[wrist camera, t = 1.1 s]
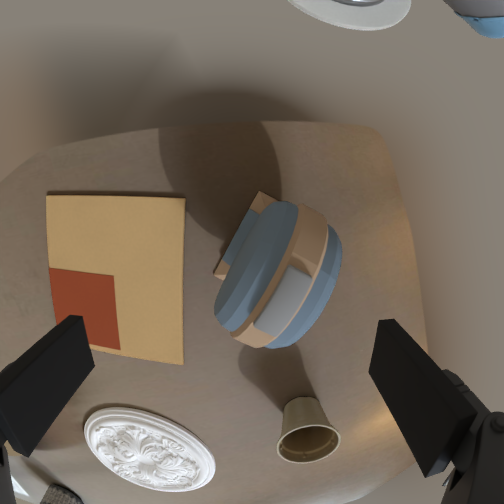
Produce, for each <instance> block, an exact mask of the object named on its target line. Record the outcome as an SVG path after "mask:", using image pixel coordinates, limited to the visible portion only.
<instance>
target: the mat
mask: <svg viewBox="0 0 504 504" xmlns="http://www.w3.org/2000/svg"><path fill="white" fill-rule="evenodd" d="M185 207H186V198H168V197H142V196H103V195H47V196H46V220H47V244H48V258H49V274H50V283H51V291H52V298H53V305H54V311H55V317H56V323H57V325H58V324H59V323H60V322H61V321H63V320H64V319H65V318H66V317H67V316H69V315H79V316H83V320H84V324H85V329H86V333H87V337H88V342H89V346H90V349H94V350H98V351H103V352H108V353H113V354H118V355H123V356H128V357H134V358H140V359H146V360H152V361H158V362H165V363H172V364H180V365H183V364H184V349H183V258H184V228H185Z"/></svg>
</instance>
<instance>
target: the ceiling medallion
mask: <svg viewBox="0 0 504 504" xmlns="http://www.w3.org/2000/svg"><path fill="white" fill-rule="evenodd" d="M84 434H85V438H86V441H87V443H88V445H89V447H90V449H91V450H92V452H93V453H94V454H95V456H96V457H97V458H98V459H99V460H100V461H101V462H102V463H103V464H104V465H105V466H106V467H108V468H109V469H110V470H111V471H113V472H114V473H116V474H117V475H119V476H121V477H122V478H124V479H126V480H128V481H130V482H132V483H135V484H137V485H140V486H143V487H146V488H150V489H154V490H159V491H167V492H181V491H189V490H194V489H197V488H200V487H202V486H204V485H205V484H207V483H208V482H209V481H210V480H211V479H212V477H213V476H214V473H215V460H214V457H213V455H212V453H211V451H210V450H209V448H208V447H207V446H206V445H205V444H204V443H203V442H202V441H201V440H200V439H199V438H198V437H197V436H195V435H194V434H193V433H191V432H190V431H188V430H187V429H185V428H184V427H182V426H180V425H178V424H176V423H175V422H173V421H170V420H168V419H166V418H164V417H161V416H158V415H156V414H153V413H149V412H146V411H142V410H138V409H133V408H125V407H110V408H104V409H101V410H98V411H96V412H94V413H93V414H92V415H91V416H90V417H89V418H88V420H87V422H86V424H85V428H84Z"/></svg>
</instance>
